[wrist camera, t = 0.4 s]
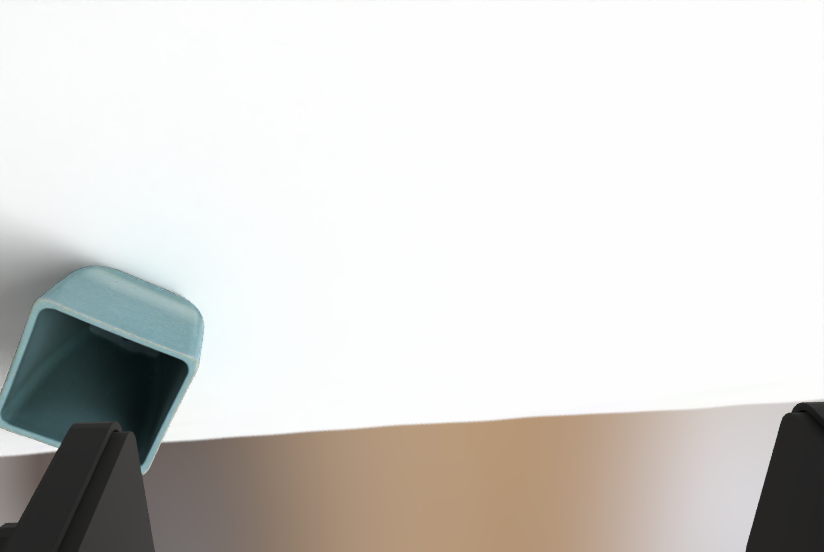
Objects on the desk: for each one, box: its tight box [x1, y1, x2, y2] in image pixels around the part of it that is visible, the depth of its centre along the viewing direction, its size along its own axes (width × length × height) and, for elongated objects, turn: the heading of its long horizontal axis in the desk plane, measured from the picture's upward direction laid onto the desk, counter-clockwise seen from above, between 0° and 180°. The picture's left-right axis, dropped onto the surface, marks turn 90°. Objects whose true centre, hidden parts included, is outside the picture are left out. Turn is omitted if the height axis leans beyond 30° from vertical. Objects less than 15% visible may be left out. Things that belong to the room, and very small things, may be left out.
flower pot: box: [0, 266, 204, 475], centre depth 45 cm, size 9×9×9 cm
